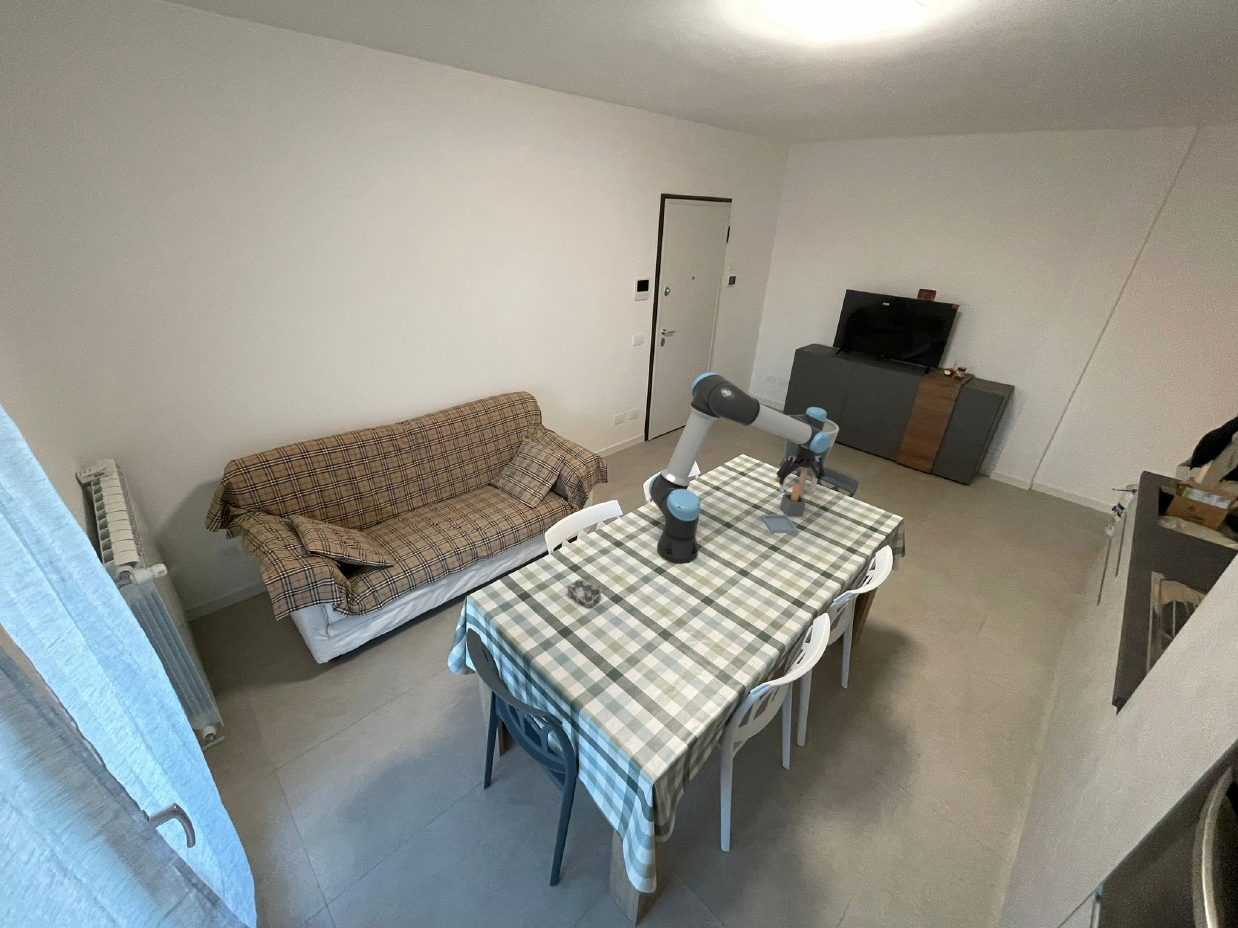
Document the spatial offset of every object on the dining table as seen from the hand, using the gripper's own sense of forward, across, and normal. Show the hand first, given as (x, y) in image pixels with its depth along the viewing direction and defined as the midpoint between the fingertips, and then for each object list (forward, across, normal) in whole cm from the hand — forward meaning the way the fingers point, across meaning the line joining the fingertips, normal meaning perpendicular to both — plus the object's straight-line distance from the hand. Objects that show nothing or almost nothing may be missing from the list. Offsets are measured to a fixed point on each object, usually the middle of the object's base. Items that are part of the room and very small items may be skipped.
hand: (796, 491), depth 208 cm
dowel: (+10, 0, 0) cm, 11 cm away
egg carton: (+11, -92, -47) cm, 104 cm away
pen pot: (+11, 0, 0) cm, 11 cm away
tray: (+11, -10, -10) cm, 17 cm away
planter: (+11, +12, +22) cm, 27 cm away
